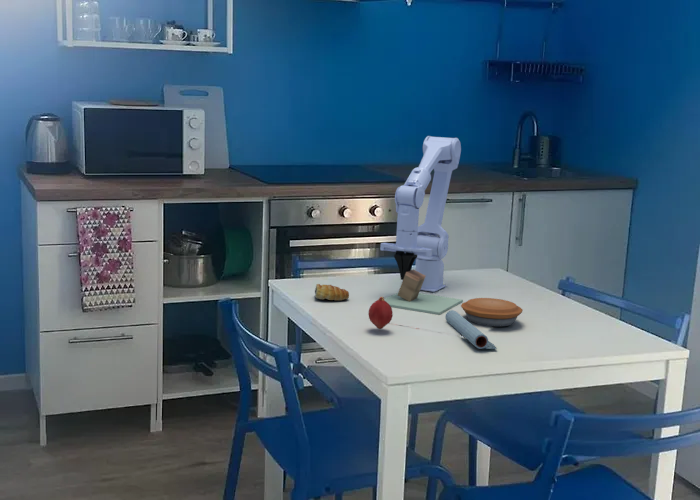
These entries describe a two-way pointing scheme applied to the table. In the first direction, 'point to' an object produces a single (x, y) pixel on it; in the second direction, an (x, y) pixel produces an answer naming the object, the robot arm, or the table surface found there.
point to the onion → (380, 313)
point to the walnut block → (411, 285)
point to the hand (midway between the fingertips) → (404, 279)
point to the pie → (491, 311)
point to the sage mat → (424, 303)
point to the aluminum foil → (468, 330)
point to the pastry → (330, 292)
